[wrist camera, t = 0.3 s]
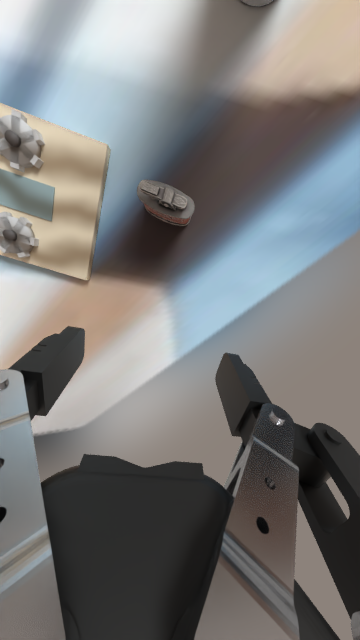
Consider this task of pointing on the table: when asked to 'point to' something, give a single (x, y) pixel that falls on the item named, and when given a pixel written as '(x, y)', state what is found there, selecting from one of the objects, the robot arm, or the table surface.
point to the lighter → (166, 202)
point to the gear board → (49, 193)
